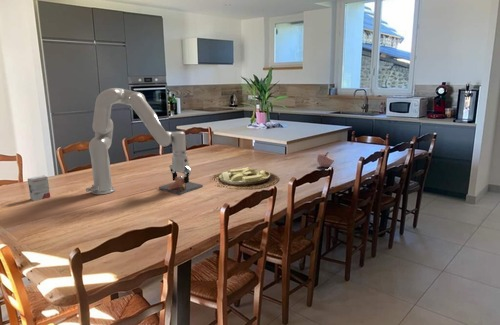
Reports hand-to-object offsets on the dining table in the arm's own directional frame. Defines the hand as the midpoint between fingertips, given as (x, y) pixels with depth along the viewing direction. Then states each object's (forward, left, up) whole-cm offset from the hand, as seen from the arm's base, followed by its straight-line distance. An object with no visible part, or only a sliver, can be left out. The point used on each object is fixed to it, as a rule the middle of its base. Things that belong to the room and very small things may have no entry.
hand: (180, 181), depth 217 cm
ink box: (-58, +48, -4) cm, 75 cm away
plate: (+37, -19, -5) cm, 42 cm away
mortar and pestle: (+97, -47, -4) cm, 108 cm away
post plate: (0, 0, -4) cm, 4 cm away
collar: (-3, 0, -3) cm, 4 cm away
